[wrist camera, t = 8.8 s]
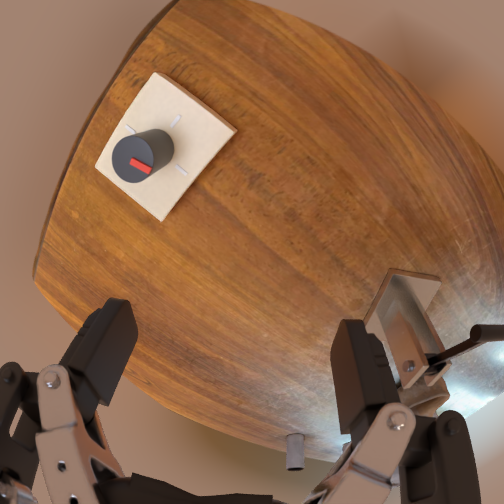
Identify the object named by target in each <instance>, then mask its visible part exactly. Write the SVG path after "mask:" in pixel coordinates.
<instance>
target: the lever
mask: <svg viewBox="0 0 504 504" xmlns="http://www.w3.org/2000/svg"><path fill="white" fill-rule="evenodd" d="M492 341H504V325H483V324H476V325H474V326H473V327H472V328H471V331H470V338H469V339H467V340H466V341H464V342H462V343H460V344H458V345H456V346H454V347H452V348H450V349H448V350H446V351H444V352H441V353H439V354H437V355H436V353H424V354H425V356H426V359H427V361H428V364H429V367H428V368H427V369H426V371H425V372H424V373H423V374H422V375H421V376H420V377H425V376H427V375H430V374H433V373H436V372H437V371H438V370H437V365H439V364H441V363H444V362H446V361H448V360H451V359H453V358H455V357H457V356H460V355H462V354H464V353H466V352H468V351H470V350H472V349H474V348H476V347H478V346H480V345H482V344H484V343H486V342H492Z"/></svg>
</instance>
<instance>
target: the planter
mask: <svg viewBox="0 0 504 504" xmlns="http://www.w3.org/2000/svg"><path fill="white" fill-rule="evenodd" d="M286 465H287V466H286V469H287V470H288V471H300V470H303V469H304V436H303V435H302V434H291V435H288V436H287V463H286Z"/></svg>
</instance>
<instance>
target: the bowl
mask: <svg viewBox="0 0 504 504" xmlns="http://www.w3.org/2000/svg"><path fill="white" fill-rule="evenodd" d="M397 391H398V394H399V398H400V401H401V403H402V404H404V405H406V406H408V407H409V408H410V409H411V410H412V412H413V413H414V414H415V415H419V416H426V417H433V414H434V413H435V411H436V410H437V409H438V408H439V407H440V406H441V405H442V404H444V403H445V402H446V401H447V400H448V399H449V397H450V394H449V392H448V390H447V387H446V384H445V381H444V379H443V378H442V377H440V378H439V379H438V380H437V381H436V382H435V384H434V385H433V386H427V385H426V382H425V379H424V377H419V378H418V379H417V381H416V382H415V383H414V384H413V385H412V386H411V387H410V388H406V389H403V386H401V387H399V388H398V389H397Z"/></svg>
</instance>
